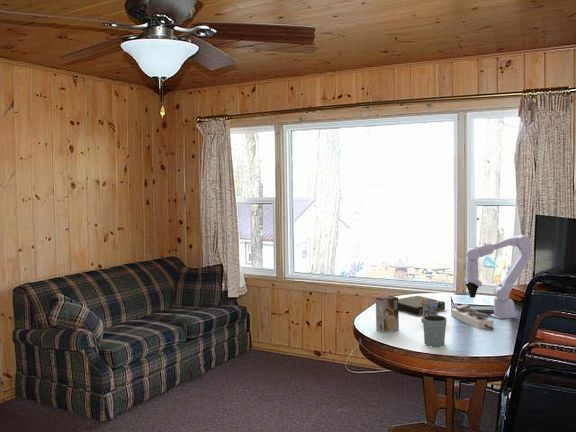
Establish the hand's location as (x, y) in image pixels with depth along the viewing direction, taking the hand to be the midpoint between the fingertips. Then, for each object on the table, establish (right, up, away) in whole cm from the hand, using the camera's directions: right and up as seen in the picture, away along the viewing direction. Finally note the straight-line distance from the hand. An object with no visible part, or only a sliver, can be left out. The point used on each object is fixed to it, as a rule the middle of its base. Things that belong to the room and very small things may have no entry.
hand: (472, 297), depth 297 cm
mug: (-24, -11, -7) cm, 27 cm away
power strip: (-3, -11, -12) cm, 16 cm away
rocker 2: (-4, -6, -10) cm, 12 cm away
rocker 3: (-2, -7, -17) cm, 19 cm away
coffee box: (-48, -13, -21) cm, 54 cm away
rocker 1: (-6, -6, -2) cm, 8 cm away
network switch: (-24, -10, +19) cm, 32 cm away
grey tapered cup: (-31, -15, -45) cm, 57 cm away
